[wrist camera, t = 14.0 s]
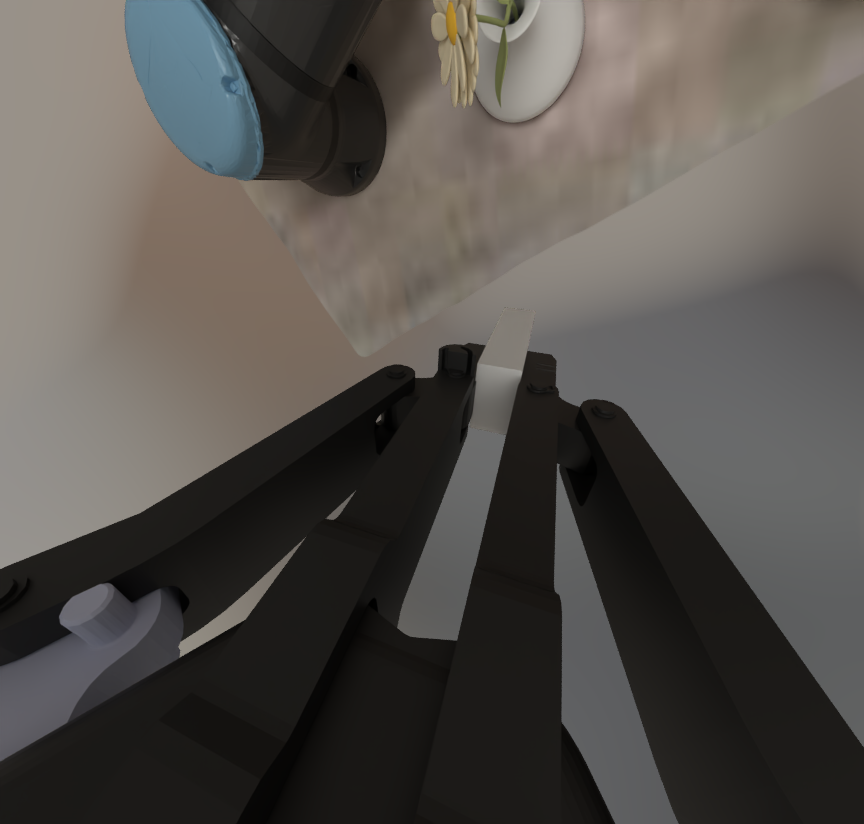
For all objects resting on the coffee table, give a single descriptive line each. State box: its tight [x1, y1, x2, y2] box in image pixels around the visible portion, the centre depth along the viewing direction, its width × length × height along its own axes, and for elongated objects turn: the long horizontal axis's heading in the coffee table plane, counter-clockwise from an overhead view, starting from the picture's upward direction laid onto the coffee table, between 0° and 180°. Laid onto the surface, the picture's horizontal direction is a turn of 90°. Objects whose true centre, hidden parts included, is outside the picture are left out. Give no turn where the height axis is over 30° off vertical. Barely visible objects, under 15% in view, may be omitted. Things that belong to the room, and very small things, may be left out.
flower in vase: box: [431, 0, 585, 123], centre depth 25 cm, size 13×11×25 cm
